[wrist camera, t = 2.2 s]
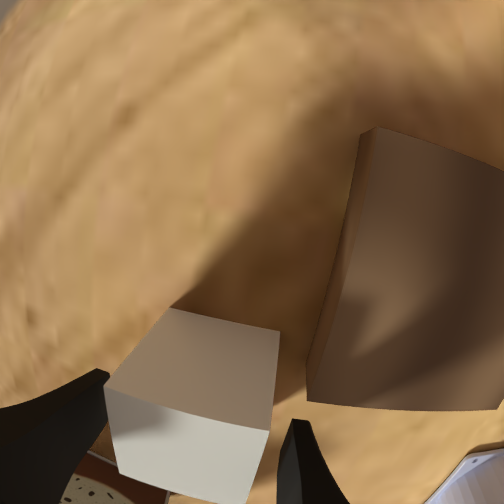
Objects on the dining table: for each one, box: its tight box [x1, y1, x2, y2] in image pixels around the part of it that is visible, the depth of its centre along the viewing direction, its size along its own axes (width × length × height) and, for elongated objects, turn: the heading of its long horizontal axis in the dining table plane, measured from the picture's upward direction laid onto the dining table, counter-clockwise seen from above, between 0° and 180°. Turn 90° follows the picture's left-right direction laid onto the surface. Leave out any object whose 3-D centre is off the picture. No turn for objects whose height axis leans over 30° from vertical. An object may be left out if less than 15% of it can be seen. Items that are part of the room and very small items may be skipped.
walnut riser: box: [306, 127, 504, 411], centre depth 11 cm, size 10×10×3 cm
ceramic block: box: [103, 307, 280, 504], centre depth 12 cm, size 5×5×6 cm
